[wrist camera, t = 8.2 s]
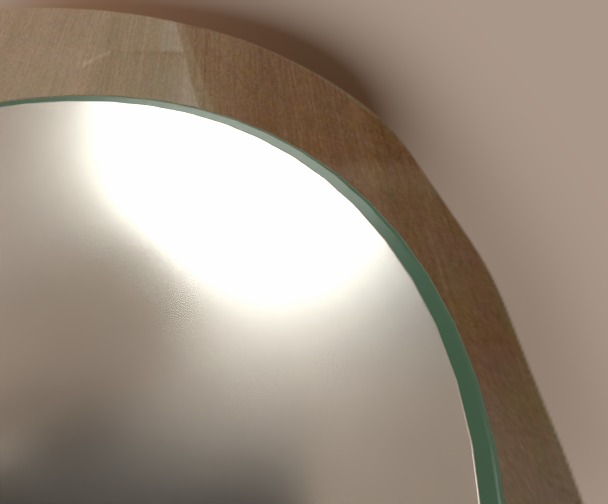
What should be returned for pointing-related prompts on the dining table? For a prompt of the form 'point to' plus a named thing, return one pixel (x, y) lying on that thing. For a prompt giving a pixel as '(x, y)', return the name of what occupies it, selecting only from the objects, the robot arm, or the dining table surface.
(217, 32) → the dining table surface
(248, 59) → the dining table surface
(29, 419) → the tin
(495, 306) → the dining table surface
